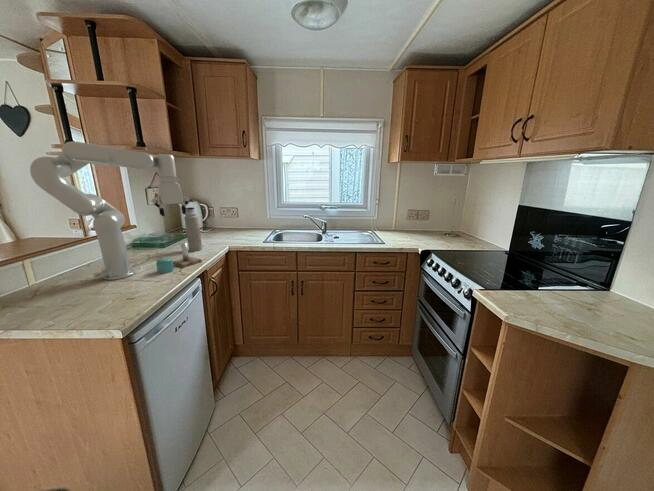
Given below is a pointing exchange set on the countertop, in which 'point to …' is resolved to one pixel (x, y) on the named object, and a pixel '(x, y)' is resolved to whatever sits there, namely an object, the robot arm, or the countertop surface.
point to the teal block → (164, 265)
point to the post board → (186, 262)
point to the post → (185, 251)
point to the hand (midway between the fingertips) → (173, 215)
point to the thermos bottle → (193, 230)
